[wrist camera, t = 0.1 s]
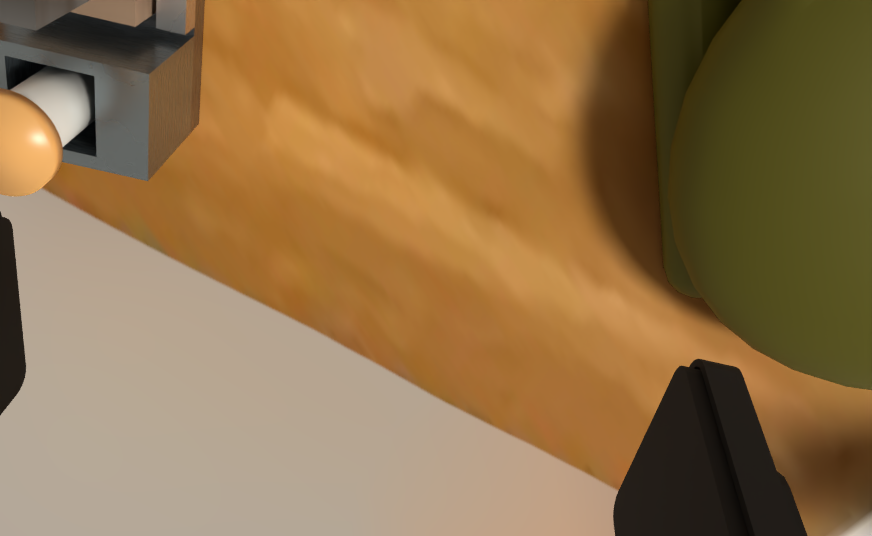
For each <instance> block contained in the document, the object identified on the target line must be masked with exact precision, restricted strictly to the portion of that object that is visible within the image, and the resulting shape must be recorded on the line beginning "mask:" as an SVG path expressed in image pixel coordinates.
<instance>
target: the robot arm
mask: <svg viewBox="0 0 872 536" xmlns="http://www.w3.org/2000/svg"><path fill="white" fill-rule="evenodd" d="M25 373H26V363H25V353H24V342H23V331H22V321H21V311H20V301H19V291H18V280H17V269H16V259H15V249H14V240H13V229H12V224H11V222H10V220H9V219H7V218H5V217H2V216H1V212H0V415H1V413H2V412H3V411H4V410H5V409H6V407H7V406H8V405H9V404H10V402H11V401H12V399H14V397H15V396H16V395H17V393H18V392H19V390H20V388H21V386H22V384H23V381H24V378H25ZM613 518H614V529H615V536H807V533H806V531H805V528H804V525H803V522H802V520H801V517H800V514H799V511H798V509H797V506H796V503H795V501H794V498H793V495H792V492H791V490H790V487H789V485H788V483H787V481H786V479H785V477H784V476H782V475H781V474H780V473H779V472H777V471H776V468H775V465H774V462H773V459H772V457H771V454H770V451H769V448H768V445H767V443H766V440H765V437H764V434H763V431H762V429H761V426H760V423H759V420H758V417H757V414H756V412H755V409H754V406H753V403H752V400H751V398H750V395H749V392H748V389H747V386H746V384H745V381H744V378H743V375H742V373H741V371H740V369H738V368H737V367H734V366H729V365H724V364H720V363H715V362H711V361H706V360H702V359H696V360H694V361H693V362H692V363H691V365H690V366H689V367H685V366H679V367H678V368H677V370H676V371H675V373H674V375H673V377H672V379H671V381H670V383H669V386H668V388H667V390H666V392H665V394H664V396H663V398H662V400H661V402H660V405H659V407H658V409H657V411H656V413H655V415H654V417H653V419H652V422H651V424H650V426H649V428H648V430H647V432H646V434H645V436H644V438H643V441H642V443H641V445H640V447H639V449H638V451H637V453H636V455H635V458H634V460H633V462H632V464H631V466H630V468H629V470H628V472H627V474H626V477H625V479H624V481H623V483H622V485H621V487H620V489H619V491H618V494H617V496H616V501H615V505H614V515H613Z"/></svg>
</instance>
